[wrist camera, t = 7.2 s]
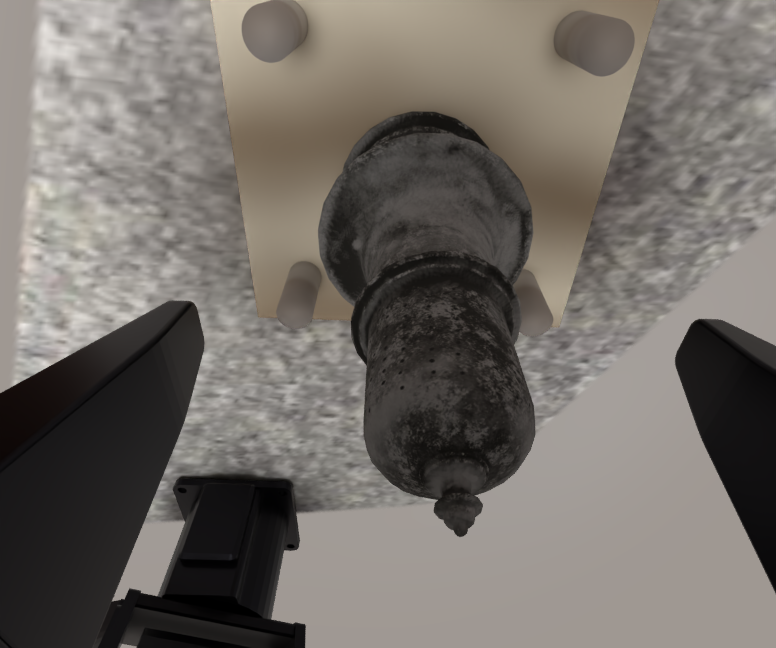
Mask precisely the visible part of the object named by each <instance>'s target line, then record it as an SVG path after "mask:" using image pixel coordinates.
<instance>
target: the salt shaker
mask: <svg viewBox="0 0 776 648" xmlns="http://www.w3.org/2000/svg"><path fill="white" fill-rule="evenodd" d="M533 233H534V232H533V220H532V208H531V205H530V202H529V200H528V197H527V195H526V192H525V190H524V187H523V185H522V182H521V181H520V179H519V178H518V177H517V176H516V174H515V173H514V172H513V171H512V170H511V168H510V167H509V166H508V165H507V164H506V162H505V161H504V160H503V159H502V158H501V157H499V156H498V155H496V154H495V153H493V152H492V151H490V150H489V147H488V146H487V145H486V144H485V142H484V141H483V140H482V139H481V138H480V136H479V135H478V134H477V133H476V132H475V130H473V129H472V128H470V127H469V126H467V125H466V124H464V123H463V122H461V121H460V120H458V119H457V118H454V117H450V116H447V115H444V114H441V113H437V112H422V111H411V112H407V113H404V114H400V115H396V116H392V117H389V118H387V119H386V120H384V121H382V122H381V123H379V124H377V125H376V126H374V127H372V128H371V129H369V130H368V131H367V132H366V133H365V135H364V136H363V137H362V138H361V139H360V140H359V141H358V142H357V143H356V144H355V145H354V147H353V149H352V150H351V152H350V154H349V156H348V158H347V160H346V162H345V163H344V167H343V172H342V173H341V174H340V175H339V176H338V177H337V179H336V181H335V183H334V184H333V186H332V188H331V190H330V192H329V194H328V196H327V197H326V199H325V201H324V203H323V208H322V212H321V217H320V222H319V226H318V240H319V252H320V257H321V260H322V263H323V265H324V268H325V271H326V273H327V276H328V278H329V280H330V281H331V282H332V284H333V285H334V287H335V288H336V289H337V291H338V292H339V293H340V295H341V296H342V297H343V298H344V299H345V300H346V301H347V302H349V303H350V304H351V305H352V306H354V310H353V313H352V316H351V336H352V340H353V343H354V345H355V348H356V351H357V354H358V355H359V356H360V357H361V359H362V360H363V361H364V363H365V364H366V365H367V371H366V388H365V405H364V439H365V444H366V448H367V451H368V454H369V456H370V458H371V461H372V463H373V464H374V465H375V466H376V467H377V469H378V470H379V471H380V472H381V473H382V474H383V475H384V476H385V477H386V478H387V479H388V480H389V482H390V483H392V484H393V485H395V486H396V487H398V488H399V489H401V490H403V491H405V492H407V493H410V494H413V495H416V496H419V497H424V498H430V499H436V500H438V501H437V502H436V503H435V507H434V513H435V514H436V515H437V516H438V518H440V519H443V520H444V523H445V524H446V526H447V527H448V528H450V529H451V530H454V532H455V534H456V535H457V536H459V537H462V536H464V535H466V534H467V531H468V528H470V527H471V526H472V525H473V524H474V521H475V517H476V516H477V515H479V514H480V513H481V511H482V507H483V504H482V503H481V501H480V500H479V498H478V497H476V496H475V495H478V494H481V493H484V492H486V491H489V490H491V489H493V488H494V487H496V486H498V485H500V484H502V483H504V482H505V481H506V480H507V479H508V478H510V477H511V476H512V475H513V474H515V472H516V471H517V470H518V468H519V467H520V466H521V464H522V463H523V461H524V460H525V458H526V456H527V455H528V453H529V452H530V450H531V447H532V444H533V441H534V437H535V416H534V405H533V402H532V399H531V396H530V393H529V390H528V387H527V384H526V381H525V378H524V375H523V372H522V369H521V366H520V362H519V359H518V356H517V353H516V350H515V347H514V344H515V342H516V340H517V338H518V335H519V331H520V326H521V322H522V316H521V305H520V300H519V298H518V296H517V294H516V291H515V289H514V287H513V284H514V283H515V282H516V281H517V279H518V277H519V275H520V273H521V271H522V269H523V267H524V265H525V264H526V262H527V260H528V257H529V252H530V248H531V243H532V238H533Z"/></svg>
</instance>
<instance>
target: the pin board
mask: <svg viewBox="0 0 776 648" xmlns="http://www.w3.org/2000/svg"><path fill="white" fill-rule="evenodd" d="M210 2H211V9H212V15H213V22H214V28H215V35H216V42H217V48H218V55H219V62H220V68H221V75H222V81H223V88H224V95H225V101H226V108H227V115H228V121H229V128H230V134H231V141H232V148H233V154H234V161H235V168H236V174H237V181H238V187H239V194H240V201H241V207H242V214H243V221H244V227H245V234H246V240H247V247H248V254H249V260H250V267H251V274H252V280H253V287H254V293H255V300H256V307H257V313H258V317H262V318H278V319H279V321H280V322H281V323H282V324H283V325H285V326H287V327H289V328H294V329H299V328H303V327H306V326H307V325H309V324H310V322H311V321H312V319H322V320H351V316H352V313H353V310H354V306H352V305H351V304H350V303H349V302H347V301H346V300H345V299H344V298H343V297H342V296H341V295H340V293H339V292H338V291H337V289H336V288H335V287H334V285H333V284H332V282H331V281H330V280H329V278H328V276H327V273H326V271H325V268H324V265H323V263H322V260H321V257H320V252H319V240H318V226H319V222H320V217H321V212H322V208H323V203H324V201H325V199H326V197H327V196H328V194H329V192H330V190H331V188H332V186H333V184H334V183H335V181H336V179H337V177H338V176H339V175H340V174H341V173H342V172H343V167H344V163H345V162H346V160H347V158H348V156H349V154H350V152H351V150H352V149H353V147H354V145H355V144H356V143H357V142H358V141H359V140H360V139H361V138H362V137H363V136H364V135H365V133H366V132H367V131H368V130H369V129H371V128H372V127H374V126H376V125H377V124H379V123H381V122H382V121H384V120H386V119H387V118H389V117H392V116H396V115H400V114H404V113H407V112H411V111H422V112H437V113H441V114H444V115H447V116H450V117H454V118H457V119H458V120H460V121H461V122H463V123H464V124H466V125H467V126H469V127H470V128H472V129H473V130H475V132H476V133H477V134H478V135H479V136H480V138H481V139H482V140H483V141H484V142H485V144H486V145H487V146H488V147H489V150H490V151H492V152H493V153H495V154H496V155H498V156H499V157H501V158H502V159H503V160H504V161H505V162H506V164H507V165H508V166H509V167H510V168H511V170H512V171H513V172H514V173H515V174H516V176H517V177H518V178H519V179H520V181H521V182H522V185H523V187H524V190H525V192H526V195H527V197H528V200H529V202H530V205H531V208H532V220H533V232H534V233H533V238H532V243H531V248H530V252H529V257H528V260H527V262H526V264H525V265H524V267H523V269H522V271H521V273H520V275H519V277H518V279H517V281H516V282H515V283H514V284H513V287H514V289H515V291H516V294H517V296H518V298H519V300H520V305H521V316H522V322H521V326H520V331H519V332H520V333H522V334H523V335H526V336H539V335H541V334H543V333H545V332H547V331H548V330H549V329H550V327H559V326H560V323H561V319H562V316H563V313H564V310H565V306H566V303H567V300H568V297H569V293H570V290H571V287H572V284H573V280H574V277H575V274H576V270H577V267H578V264H579V261H580V257H581V254H582V251H583V248H584V244H585V241H586V238H587V234H588V231H589V228H590V225H591V221H592V218H593V215H594V212H595V208H596V205H597V202H598V199H599V195H600V192H601V189H602V185H603V182H604V179H605V176H606V172H607V169H608V166H609V163H610V159H611V156H612V153H613V150H614V146H615V143H616V140H617V136H618V133H619V130H620V127H621V123H622V120H623V117H624V114H625V110H626V107H627V104H628V101H629V97H630V94H631V91H632V87H633V84H634V81H635V78H636V74H637V71H638V68H639V65H640V61H641V58H642V55H643V52H644V48H645V45H646V42H647V38H648V35H649V32H650V29H651V25H652V22H653V19H654V16H655V12H656V9H657V6H658V3H659V0H210Z"/></svg>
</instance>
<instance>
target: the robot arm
mask: <svg viewBox="0 0 776 648" xmlns="http://www.w3.org/2000/svg"><path fill="white" fill-rule="evenodd" d="M203 351H204V336H203V331H202V327H201V323H200V319H199V315H198V311H197V307H196V306H195V304H194V303H193V302H191V301H168V302H166V303H164V304H162V305H161V306H159V307H157V308H155V309H153V310H152V311H150V312H148V313H146V314H144V315H142V316H141V317H139V318H137V319H135V320H133V321H131V322H130V323H128V324H126V325H124V326H122V327H120V328H119V329H117V330H115V331H113V332H111V333H110V334H108V335H106V336H104V337H102V338H100V339H99V340H97V341H95V342H93V343H91V344H89V345H88V346H86V347H84V348H82V349H80V350H78V351H77V352H75V353H73V354H71V355H69V356H68V357H66V358H64V359H62V360H60V361H58V362H57V363H55V364H53V365H51V366H49V367H47V368H46V369H44V370H42V371H40V372H38V373H36V374H35V375H33V376H31V377H29V378H27V379H25V380H24V381H22V382H20V383H18V384H16V385H15V386H13V387H11V388H9V389H7V390H5V391H4V392H2V393H0V648H120V647H121V644H127V645H132V646H137V648H305V628H306V626H305V624H300V623H294V624H290V623H285V622H280V621H276V620H271V617H272V612H273V606H274V601H275V596H276V590H277V585H278V580H279V574H280V569H281V563H282V558H283V553H284V550H290V551H291V550H297V549H298V547H299V542H300V538H299V532H298V523H297V516H296V508H295V501H294V493H293V487H292V485H291V484H290V483H288V482H283V481H248V480H212V479H178V480H177V481H176V482H175V485H174V487H173V491H174V494H175V496H176V499H177V502H178V504H179V507H180V510H181V512H182V515H183V518H184V520H185V525H184V527H183V530H182V533H181V535H180V538H179V541H178V543H177V546H176V549H175V551H174V554H173V557H172V559H171V562H170V565H169V567H168V570H167V573H166V575H165V578H164V581H163V583H162V586H161V589H160V592H159V594H158V596H153V595H148V594H143V593H141V591H139V590H135V589H129V591H128V593H127V595H126V597H125V600H124V599H121V600H118V601H113V602H112V599H113V597H114V594H115V592H116V589H117V587H118V585H119V582H120V580H121V577H122V575H123V572H124V569H125V567H126V565H127V562H128V560H129V557H130V555H131V553H132V550H133V548H134V545H135V542H136V540H137V538H138V535H139V533H140V530H141V528H142V525H143V523H144V521H145V518H146V516H147V513H148V511H149V508H150V506H151V503H152V501H153V498H154V496H155V494H156V491H157V489H158V486H159V484H160V481H161V479H162V476H163V474H164V471H165V469H166V466H167V464H168V462H169V459H170V457H171V454H172V452H173V449H174V447H175V444H176V442H177V439H178V437H179V434H180V432H181V429H182V427H183V424H184V421H185V418H186V414H187V411H188V407H189V404H190V400H191V396H192V393H193V389H194V385H195V381H196V378H197V374H198V370H199V366H200V363H201V359H202V355H203ZM675 365H676V369H677V371H678V375H679V377H680V380H681V383H682V386H683V389H684V391H685V395H686V397H687V400H688V403H689V406H690V409H691V412H692V414H693V417H694V420H695V423H696V426H697V428H698V431H699V434H700V436H701V438H702V441H703V443H704V445H705V448H706V450H707V452H708V454H709V456H710V458H711V460H712V462H713V464H714V466H715V468H716V470H717V473H718V475H719V477H720V479H721V481H722V483H723V485H724V487H725V489H726V491H727V493H728V495H729V497H730V499H731V502H732V504H733V506H734V508H735V510H736V512H737V514H738V516H739V518H740V520H741V522H742V525H743V527H744V529H745V531H746V533H747V535H748V537H749V539H750V541H751V543H752V545H753V547H754V549H755V552H756V554H757V555H758V558H759V560H760V562H761V564H762V566H763V568H764V570H765V572H766V574H767V576H768V578H769V581H770V582H771V585H772V587H773V589H774V591H775V593H776V346H775V345H773V344H770V343H768V342H766V341H764V340H762V339H760V338H757V337H756V336H754V335H752V334H750V333H748V332H745V331H744V330H741V329H739V328H737V327H735V326H733V325H731V324H729V323H727V322H725V321H723V320H718V319H698V320H696V321H694V322H693V323H692V324H691V326H690V327H689V329H688V332H687V333H686V335H685V337H684V339H683V341H682V343H681V345H680V347H679V349H678V351H677V354H676V357H675Z"/></svg>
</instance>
